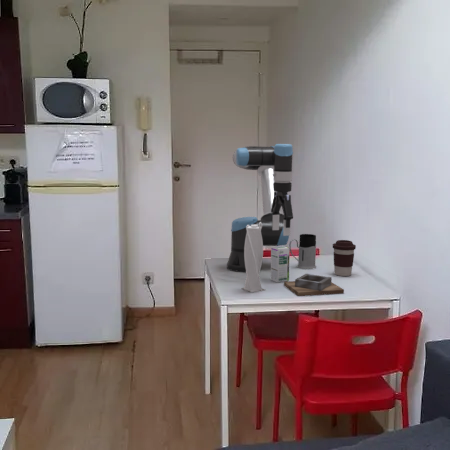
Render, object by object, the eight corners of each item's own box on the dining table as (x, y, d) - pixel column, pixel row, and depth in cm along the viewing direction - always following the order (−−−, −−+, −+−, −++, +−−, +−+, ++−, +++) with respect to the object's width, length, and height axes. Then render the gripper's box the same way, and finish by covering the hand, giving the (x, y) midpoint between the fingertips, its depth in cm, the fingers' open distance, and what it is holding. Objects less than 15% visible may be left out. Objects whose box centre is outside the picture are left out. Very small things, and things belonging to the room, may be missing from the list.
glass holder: (319, 268, 264) (321, 236, 262) (294, 271, 258) (295, 238, 256) (308, 264, 272) (310, 233, 270) (283, 267, 266) (284, 235, 263)
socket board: (283, 285, 234) (284, 274, 233) (326, 282, 238) (327, 272, 238) (298, 296, 218) (298, 284, 218) (343, 293, 223) (344, 282, 222)
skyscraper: (268, 291, 225) (269, 221, 221) (251, 294, 221) (252, 223, 216) (255, 286, 232) (257, 218, 228) (239, 289, 228) (240, 220, 223)
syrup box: (277, 282, 238) (278, 248, 235) (270, 279, 243) (271, 246, 241) (289, 281, 240) (290, 247, 238) (281, 278, 246) (282, 244, 243)
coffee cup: (354, 278, 247) (356, 243, 245) (331, 276, 249) (332, 242, 247) (354, 272, 257) (355, 239, 254) (331, 271, 259) (333, 238, 256)
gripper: (264, 179, 246) (263, 228, 249) (284, 184, 222) (282, 238, 225) (280, 179, 248) (279, 227, 251) (302, 184, 224) (300, 237, 227)
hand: (281, 232), depth 238 cm, fingers open, 13 cm apart
